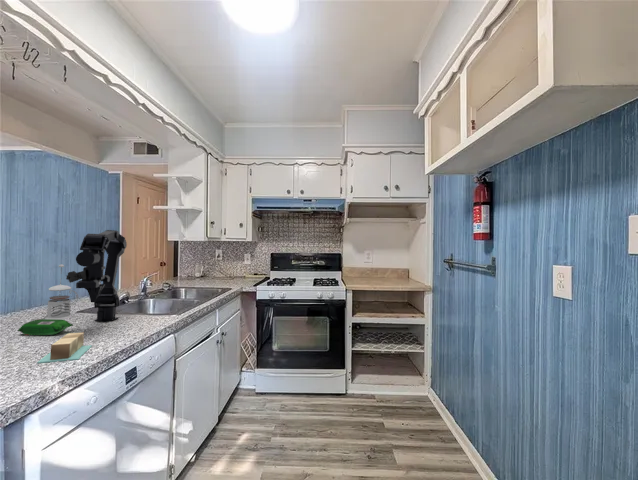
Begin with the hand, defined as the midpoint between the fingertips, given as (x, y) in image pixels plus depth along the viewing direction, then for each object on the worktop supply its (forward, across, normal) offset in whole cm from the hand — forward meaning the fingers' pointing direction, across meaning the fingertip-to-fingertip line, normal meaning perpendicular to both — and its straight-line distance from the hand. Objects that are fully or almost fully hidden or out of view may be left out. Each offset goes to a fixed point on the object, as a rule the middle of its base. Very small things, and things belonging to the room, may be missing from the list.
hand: (93, 302), depth 116 cm
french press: (+12, -27, -20) cm, 35 cm away
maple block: (+9, +18, 0) cm, 20 cm away
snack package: (+12, -2, -15) cm, 20 cm away
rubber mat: (+12, +24, 0) cm, 27 cm away
